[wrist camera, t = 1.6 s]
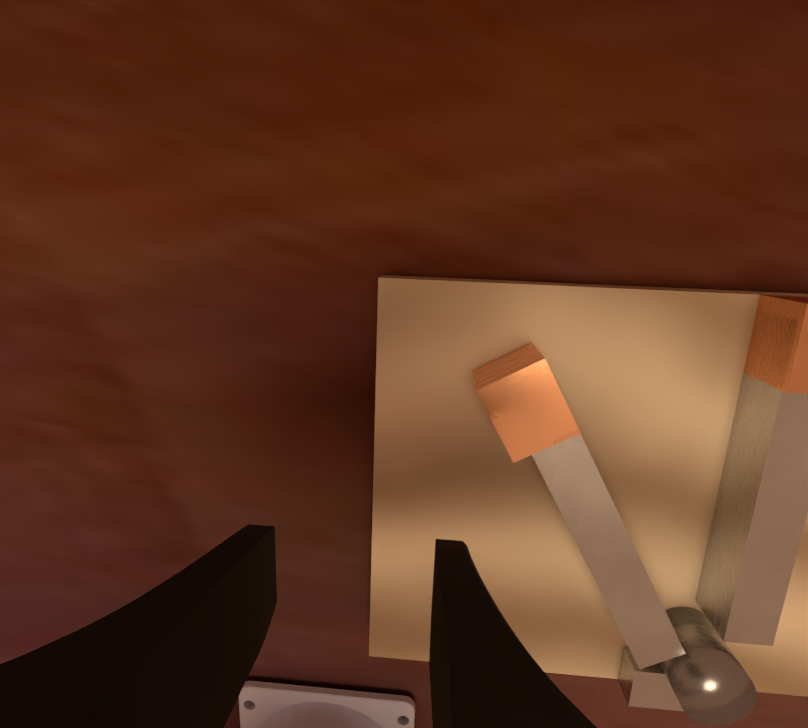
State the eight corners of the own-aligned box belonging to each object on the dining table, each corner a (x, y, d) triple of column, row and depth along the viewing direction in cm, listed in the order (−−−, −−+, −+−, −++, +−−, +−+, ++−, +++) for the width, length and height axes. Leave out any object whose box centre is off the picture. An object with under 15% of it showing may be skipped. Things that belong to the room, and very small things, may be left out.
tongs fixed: (734, 689, 20) (780, 761, 17) (617, 678, 20) (644, 747, 18) (831, 297, 16) (910, 310, 13) (685, 291, 16) (733, 302, 14)
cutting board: (807, 672, 21) (828, 698, 20) (372, 633, 22) (368, 656, 21) (915, 298, 17) (949, 302, 16) (382, 275, 18) (378, 277, 17)
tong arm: (660, 611, 19) (688, 658, 17) (605, 631, 19) (625, 680, 17) (532, 342, 17) (545, 358, 15) (472, 371, 17) (476, 390, 15)
